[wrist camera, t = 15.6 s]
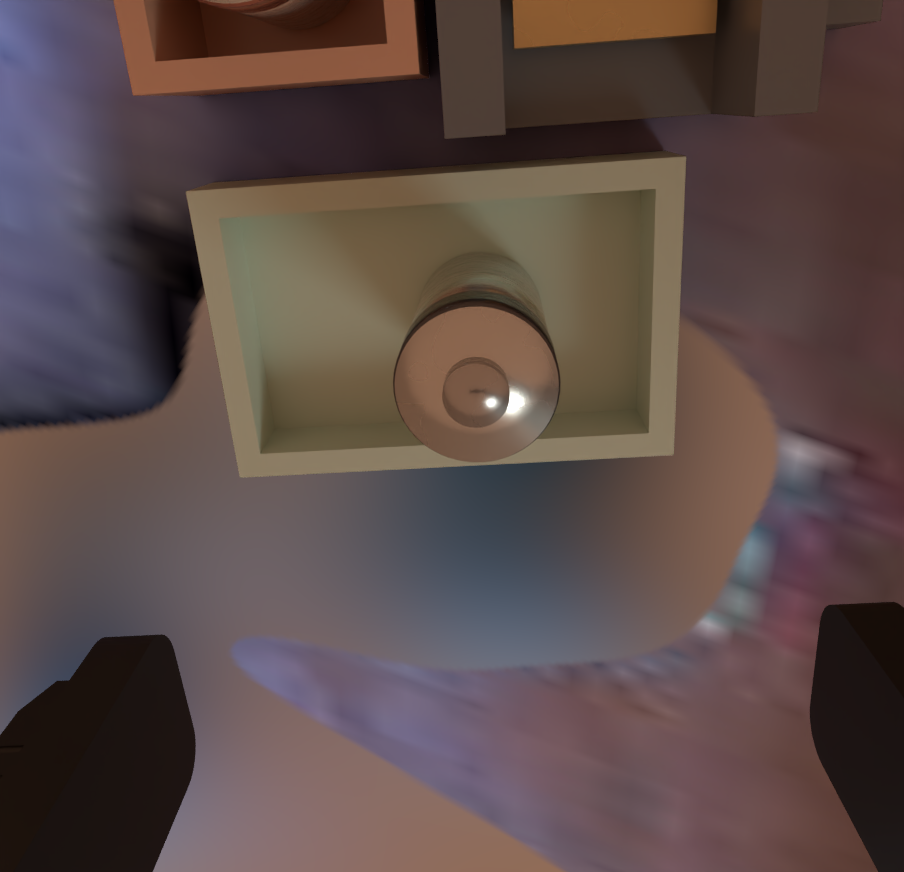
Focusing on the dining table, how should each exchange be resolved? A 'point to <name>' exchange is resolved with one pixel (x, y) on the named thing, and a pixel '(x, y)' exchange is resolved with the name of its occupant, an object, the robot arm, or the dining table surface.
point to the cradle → (636, 67)
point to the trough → (399, 290)
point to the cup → (267, 48)
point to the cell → (477, 361)
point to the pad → (607, 21)
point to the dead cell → (285, 11)
